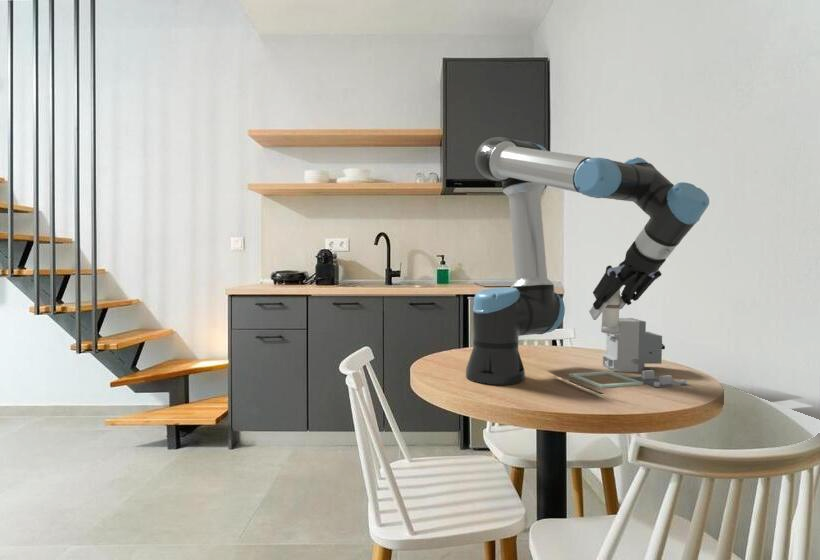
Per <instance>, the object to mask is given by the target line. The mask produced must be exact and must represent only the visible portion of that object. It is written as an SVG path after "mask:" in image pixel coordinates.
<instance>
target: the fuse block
mask: <svg viewBox="0 0 820 560" xmlns="http://www.w3.org/2000/svg"><path fill="white" fill-rule="evenodd" d="M641 373H642V375H641V376H632V377H631V376H629V377H628V378H631V379H635V380H638V381H641V382H643V385H646V386H649V387H652V388H655V389H661V388H663V389H664V388H673V387H684V386H686V387H687V386H690V384H688V383H687V381H688V380H687V379H680V381H678V380H674V379H673V375H670V374H666V375H664V374H663V375H658V374H657V375H655V370H653V369H650V370H649V369H646V370H644V371H642V372H641Z"/></svg>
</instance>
